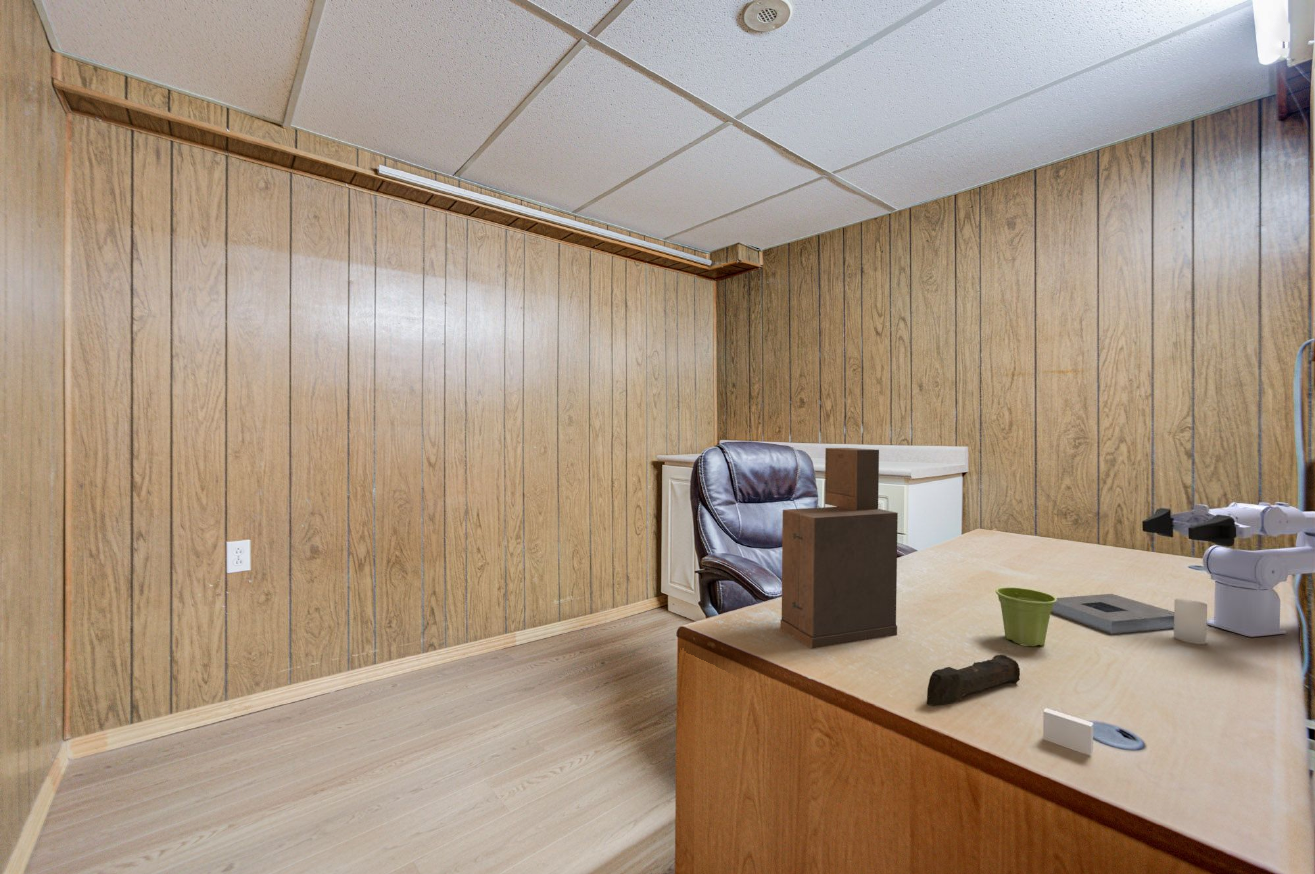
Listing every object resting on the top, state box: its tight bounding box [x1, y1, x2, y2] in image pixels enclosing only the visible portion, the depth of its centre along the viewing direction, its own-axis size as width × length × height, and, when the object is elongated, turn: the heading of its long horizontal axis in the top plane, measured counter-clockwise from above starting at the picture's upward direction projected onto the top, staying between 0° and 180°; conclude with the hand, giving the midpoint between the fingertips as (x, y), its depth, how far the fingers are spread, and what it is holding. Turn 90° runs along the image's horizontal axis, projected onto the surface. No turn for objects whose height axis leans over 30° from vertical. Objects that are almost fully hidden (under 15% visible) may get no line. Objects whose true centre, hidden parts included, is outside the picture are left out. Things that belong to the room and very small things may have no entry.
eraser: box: [1042, 707, 1094, 757], centre depth 68 cm, size 1×5×4 cm, turn 43°
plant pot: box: [995, 586, 1058, 647], centre depth 102 cm, size 9×9×9 cm
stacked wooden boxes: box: [779, 447, 899, 649], centre depth 107 cm, size 19×14×35 cm
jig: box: [1050, 593, 1174, 635], centre depth 114 cm, size 18×14×2 cm
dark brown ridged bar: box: [926, 654, 1021, 706], centre depth 83 cm, size 19×4×5 cm, turn 115°
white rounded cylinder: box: [1173, 598, 1208, 645], centre depth 103 cm, size 4×4×7 cm
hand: (1166, 529), depth 104 cm, fingers open, 7 cm apart
